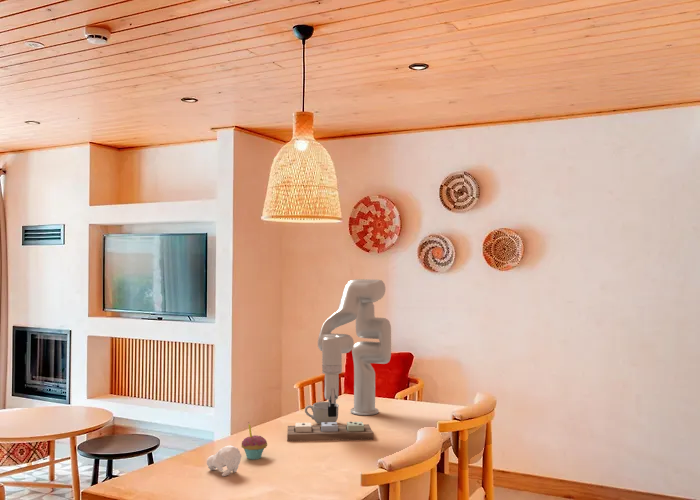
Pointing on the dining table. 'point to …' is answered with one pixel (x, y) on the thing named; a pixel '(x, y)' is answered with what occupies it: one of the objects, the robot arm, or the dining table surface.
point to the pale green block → (355, 426)
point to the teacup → (321, 412)
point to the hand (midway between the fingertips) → (332, 416)
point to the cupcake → (254, 445)
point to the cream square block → (302, 427)
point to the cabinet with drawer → (329, 434)
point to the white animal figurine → (225, 460)
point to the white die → (329, 427)
